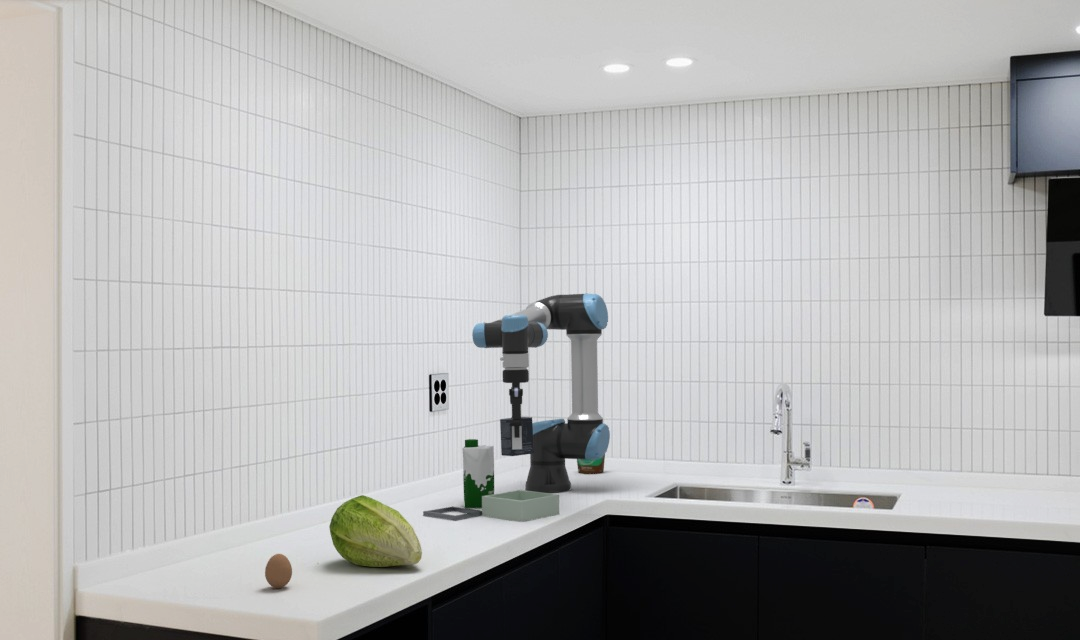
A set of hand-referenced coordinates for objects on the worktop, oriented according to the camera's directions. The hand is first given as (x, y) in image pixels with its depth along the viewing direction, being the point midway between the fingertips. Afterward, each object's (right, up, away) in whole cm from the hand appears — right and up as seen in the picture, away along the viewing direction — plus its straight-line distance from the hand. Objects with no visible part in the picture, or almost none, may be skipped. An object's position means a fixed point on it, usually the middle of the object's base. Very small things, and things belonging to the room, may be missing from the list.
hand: (516, 447), depth 302 cm
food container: (+25, -21, +88) cm, 94 cm away
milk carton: (-12, -20, +17) cm, 29 cm away
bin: (+1, -19, 0) cm, 19 cm away
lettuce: (-30, -19, -64) cm, 73 cm away
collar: (-18, -20, +1) cm, 27 cm away
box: (0, -2, 0) cm, 2 cm away
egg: (-47, -19, -85) cm, 99 cm away
